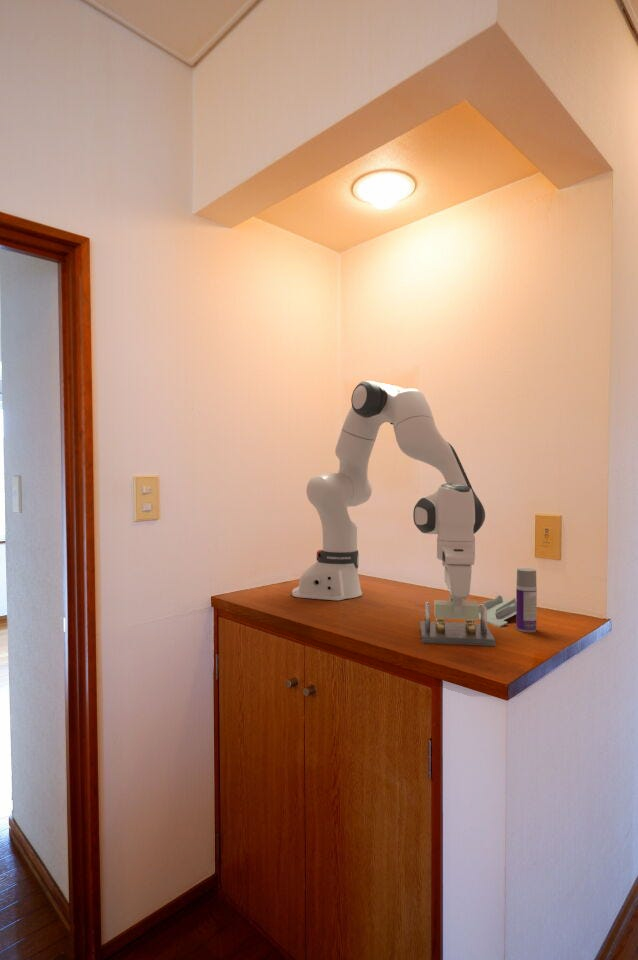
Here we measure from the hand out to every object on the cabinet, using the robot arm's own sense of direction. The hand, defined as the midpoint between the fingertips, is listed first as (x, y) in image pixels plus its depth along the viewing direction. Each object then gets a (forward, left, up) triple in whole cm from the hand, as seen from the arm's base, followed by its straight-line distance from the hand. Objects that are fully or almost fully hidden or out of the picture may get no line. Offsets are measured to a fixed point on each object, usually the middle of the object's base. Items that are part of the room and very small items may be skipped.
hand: (455, 609), depth 128 cm
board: (0, 0, -2) cm, 2 cm away
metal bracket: (+13, +19, -7) cm, 24 cm away
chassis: (0, 0, -6) cm, 6 cm away
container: (+18, +8, -6) cm, 21 cm away
